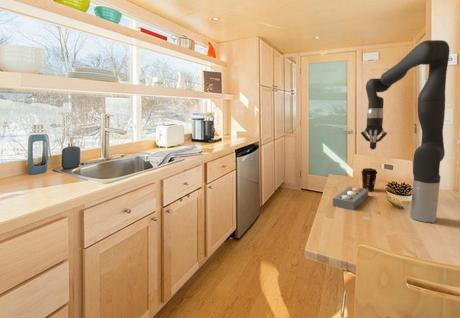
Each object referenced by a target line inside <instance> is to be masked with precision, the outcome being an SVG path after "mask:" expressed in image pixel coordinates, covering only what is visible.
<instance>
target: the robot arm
mask: <svg viewBox="0 0 460 318" xmlns="http://www.w3.org/2000/svg"><path fill="white" fill-rule="evenodd" d="M449 59H450V44H449V43H448V42H447V41H446V40H443V39H441V40H439V39H438V40H437V39H434V40H432V39H431V40H428V39H427V40H424V41H422V42H420V43H419V44H417V45H416V46H415V47H414V48H413V49H412V50H410V51H409V53H407V54H406V55H405V56H403V58H402V59H401V60H400V61H399V62H397V64H395V65H394V66H392V67H390V68H389V69H387V70H386V71H384V72H383V73H381V75H380V78H370V79H368V80H367V82H366V84H365V91H366V95H367V100H368V104H367V105H368V106H367V107H368V108H367V113H366V126H365V130H364V131H361V132H360V134H361V136H363V139H365V140H366V142H369V149H370V150H373V151H374V150H376V149H377V144H378V142H381V141H382V139H384V138H385V136H387V135H388V132H387V131H385V130H384V128H383V123H384V101H385V100H384V97H381V96H378V93H383V92H386V91H388V90H389V88H391V87H392V85H394V84H395V83H398V82H399V81H400V80H402V79H403V78H404V77H405V76H406V75H407V73H408V72H409V71H410V70H411V69H413V68H414V67H415V68H416V67H417V66H420V65H423V66H424V65H426V66H427V65H428V77H427V80H426V82H425V84H424V85H423V87H422V89H421V90H420V93H419V95H418V97H417V117H418V121H419V124H420V128H421V142H420V146H418V147H417V148H416V149H415V150H414V153H413V160H412V161H413V164H412V175H413V181H412V193H411V201H410V202H411V203H410V211H409V216H410V218H411V219H413V220H415V221H418V222H424V223H433V224H435V223H436V221H437V220H436V219H437V214H438V213H437V212H438V205H439V192H440V184H441V183H440V182H441V175H440V169H441V168H440V165H441V162H442V161H443V160H444V158H445V145H444V144H445V143H444V123H445V111H446V82H447V74H448V73H447V71H448V66H449V65H448V64H449ZM380 135H381V136H380ZM378 137H379V138H378Z"/></svg>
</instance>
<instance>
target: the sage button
mask: <svg viewBox="0 0 460 318" xmlns="http://www.w3.org/2000/svg"><path fill="white" fill-rule="evenodd" d="M342 199H347V200H351V196H349V195H342Z"/></svg>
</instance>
